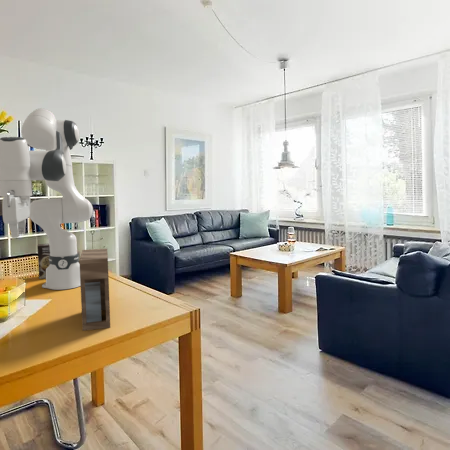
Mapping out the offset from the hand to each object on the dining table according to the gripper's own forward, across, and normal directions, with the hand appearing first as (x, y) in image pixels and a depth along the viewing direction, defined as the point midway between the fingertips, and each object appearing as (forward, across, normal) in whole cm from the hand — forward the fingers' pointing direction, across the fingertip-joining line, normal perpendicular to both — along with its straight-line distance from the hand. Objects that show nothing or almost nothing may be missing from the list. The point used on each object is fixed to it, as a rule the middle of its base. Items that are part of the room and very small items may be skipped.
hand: (18, 235), depth 112 cm
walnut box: (+29, 0, -22) cm, 37 cm away
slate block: (+29, 0, -21) cm, 36 cm away
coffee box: (+29, +67, +1) cm, 73 cm away
